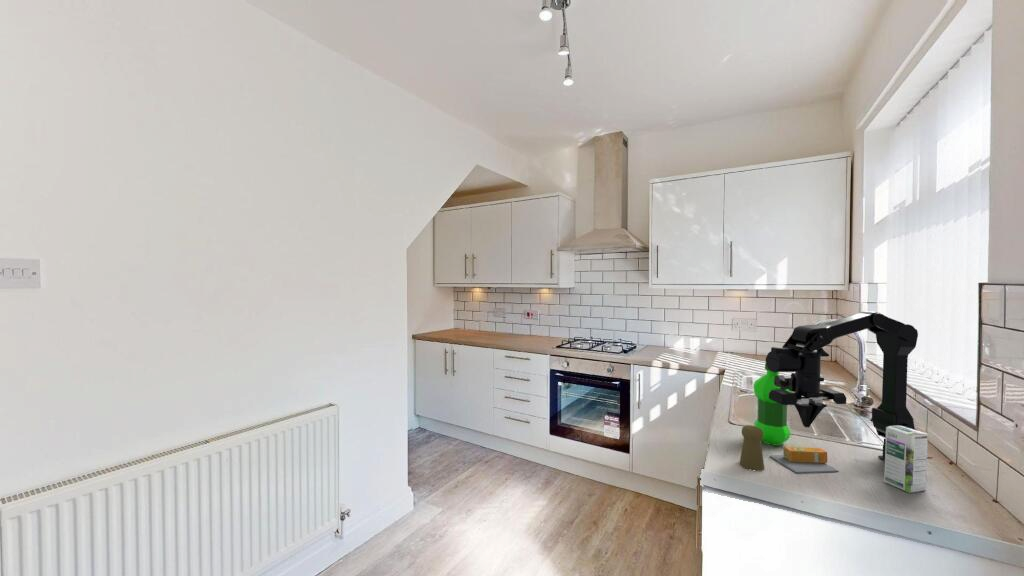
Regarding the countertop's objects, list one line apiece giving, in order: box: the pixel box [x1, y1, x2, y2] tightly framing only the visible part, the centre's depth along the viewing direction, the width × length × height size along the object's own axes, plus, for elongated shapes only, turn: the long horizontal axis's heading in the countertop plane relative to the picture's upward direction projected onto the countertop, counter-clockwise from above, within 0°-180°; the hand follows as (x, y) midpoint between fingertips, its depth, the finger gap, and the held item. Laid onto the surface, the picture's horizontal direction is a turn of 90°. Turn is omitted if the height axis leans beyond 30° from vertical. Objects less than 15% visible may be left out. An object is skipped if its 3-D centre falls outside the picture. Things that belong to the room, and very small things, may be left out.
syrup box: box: [883, 426, 929, 494], centre depth 100 cm, size 6×6×14 cm
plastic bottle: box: [752, 362, 793, 446], centre depth 127 cm, size 10×11×25 cm
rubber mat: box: [769, 454, 839, 474], centre depth 113 cm, size 12×10×1 cm
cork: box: [739, 424, 765, 472], centre depth 111 cm, size 6×6×11 cm
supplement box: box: [782, 446, 828, 464], centre depth 114 cm, size 3×3×10 cm
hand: (806, 426), depth 112 cm, fingers closed
